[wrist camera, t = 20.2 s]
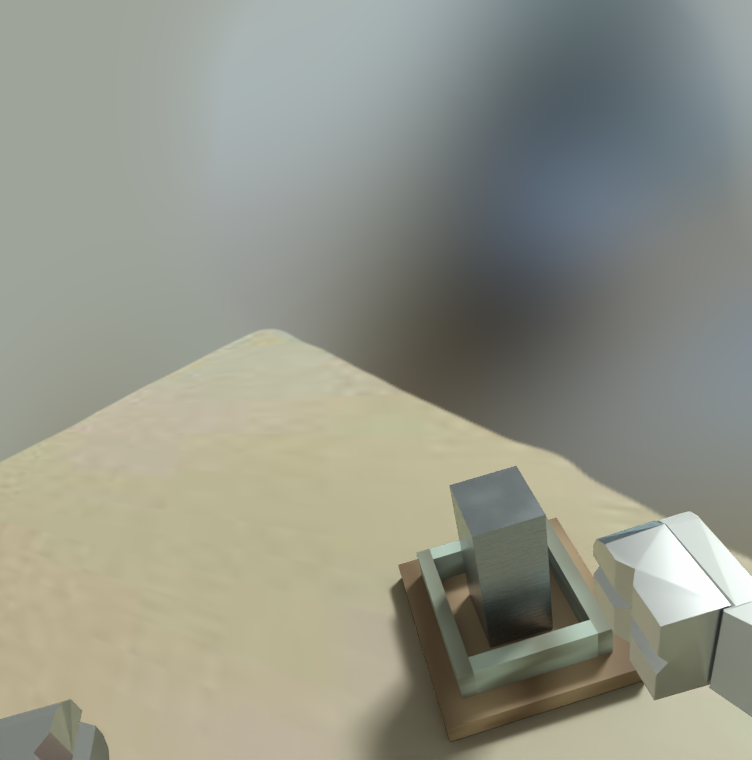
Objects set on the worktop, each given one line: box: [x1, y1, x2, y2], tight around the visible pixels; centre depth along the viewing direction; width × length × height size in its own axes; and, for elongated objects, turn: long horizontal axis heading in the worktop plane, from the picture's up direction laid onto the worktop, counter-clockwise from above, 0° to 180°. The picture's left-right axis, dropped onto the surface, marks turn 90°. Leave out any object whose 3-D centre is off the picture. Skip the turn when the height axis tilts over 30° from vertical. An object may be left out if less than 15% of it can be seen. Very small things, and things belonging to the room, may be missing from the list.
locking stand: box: [399, 517, 642, 742], centre depth 43 cm, size 13×13×4 cm
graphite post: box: [450, 466, 553, 648], centre depth 40 cm, size 4×4×11 cm
